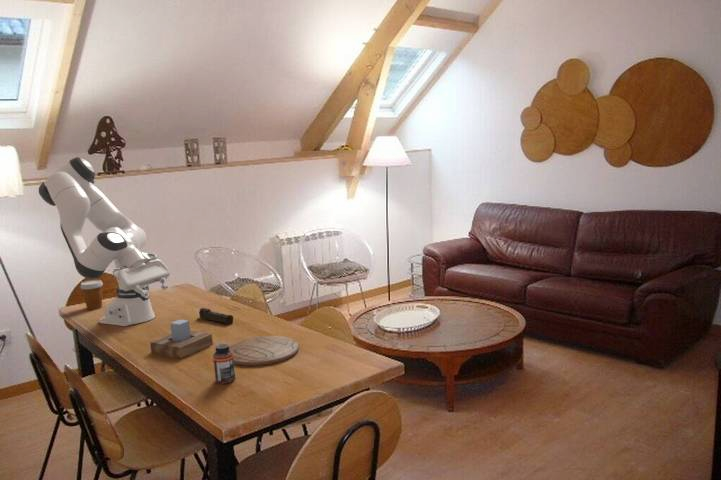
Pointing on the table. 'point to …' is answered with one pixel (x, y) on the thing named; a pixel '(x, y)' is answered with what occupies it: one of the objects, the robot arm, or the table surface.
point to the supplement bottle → (223, 364)
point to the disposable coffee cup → (92, 293)
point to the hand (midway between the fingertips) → (156, 291)
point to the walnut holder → (181, 345)
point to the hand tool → (215, 316)
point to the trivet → (263, 350)
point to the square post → (180, 330)
